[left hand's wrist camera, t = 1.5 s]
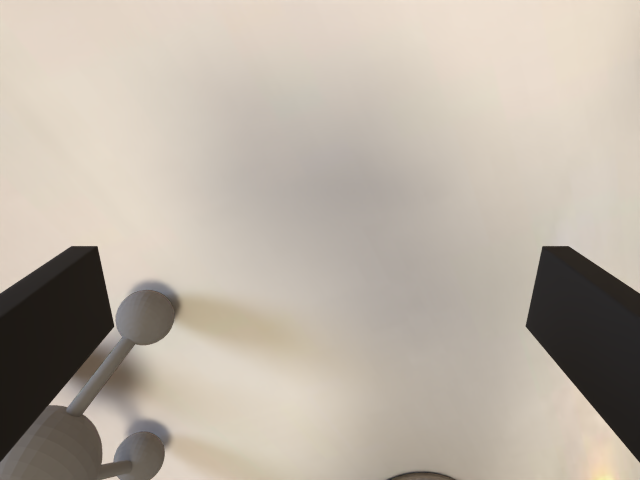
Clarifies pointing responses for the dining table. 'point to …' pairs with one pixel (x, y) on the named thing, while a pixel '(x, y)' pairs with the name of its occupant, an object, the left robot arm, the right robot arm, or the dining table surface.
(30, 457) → the molecular model
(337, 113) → the dining table surface
